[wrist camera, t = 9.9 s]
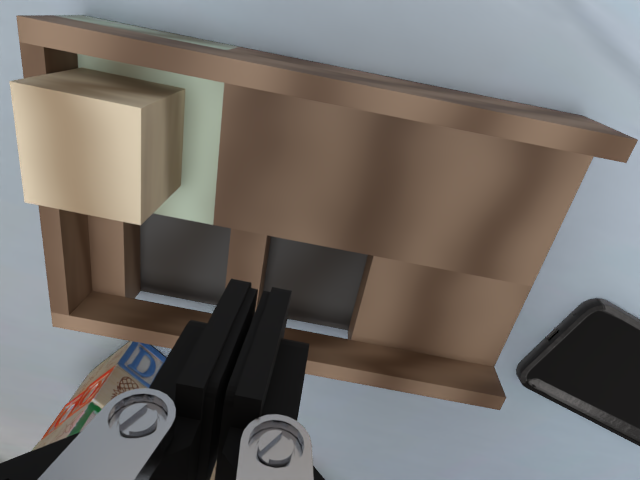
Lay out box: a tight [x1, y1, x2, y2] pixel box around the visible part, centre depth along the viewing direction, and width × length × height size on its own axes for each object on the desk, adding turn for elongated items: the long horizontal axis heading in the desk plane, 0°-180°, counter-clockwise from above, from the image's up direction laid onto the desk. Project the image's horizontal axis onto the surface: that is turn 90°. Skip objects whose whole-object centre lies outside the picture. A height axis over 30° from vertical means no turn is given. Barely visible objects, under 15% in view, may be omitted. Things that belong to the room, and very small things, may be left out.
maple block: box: [10, 67, 185, 225], centre depth 20 cm, size 5×5×5 cm
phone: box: [516, 298, 640, 446], centre depth 30 cm, size 8×1×15 cm
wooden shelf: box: [17, 15, 638, 410], centre depth 24 cm, size 26×16×5 cm, turn 80°
